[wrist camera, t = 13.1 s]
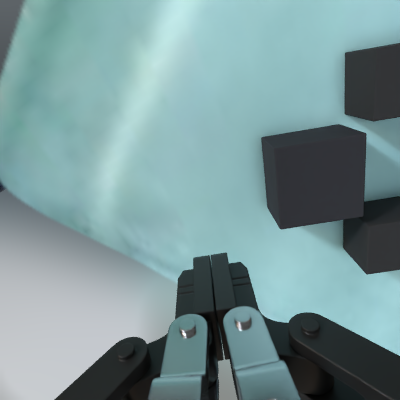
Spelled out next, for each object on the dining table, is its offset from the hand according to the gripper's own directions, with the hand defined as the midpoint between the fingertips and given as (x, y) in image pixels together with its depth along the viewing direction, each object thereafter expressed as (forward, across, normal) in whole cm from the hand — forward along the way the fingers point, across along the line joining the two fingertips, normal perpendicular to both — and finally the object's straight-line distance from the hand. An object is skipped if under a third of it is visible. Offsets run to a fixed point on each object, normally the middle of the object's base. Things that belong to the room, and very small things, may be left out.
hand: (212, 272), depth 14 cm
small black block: (+12, -8, 0) cm, 15 cm away
